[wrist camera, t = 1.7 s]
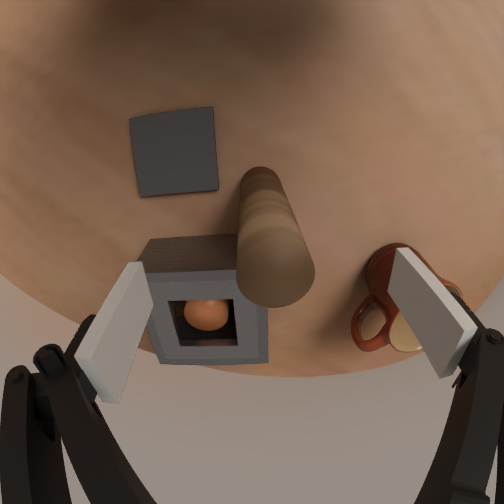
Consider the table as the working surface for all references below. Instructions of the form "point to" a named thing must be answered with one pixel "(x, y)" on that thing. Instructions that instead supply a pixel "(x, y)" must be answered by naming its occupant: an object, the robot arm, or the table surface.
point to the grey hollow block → (201, 288)
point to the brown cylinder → (270, 244)
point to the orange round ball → (207, 313)
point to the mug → (388, 304)
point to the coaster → (175, 152)
